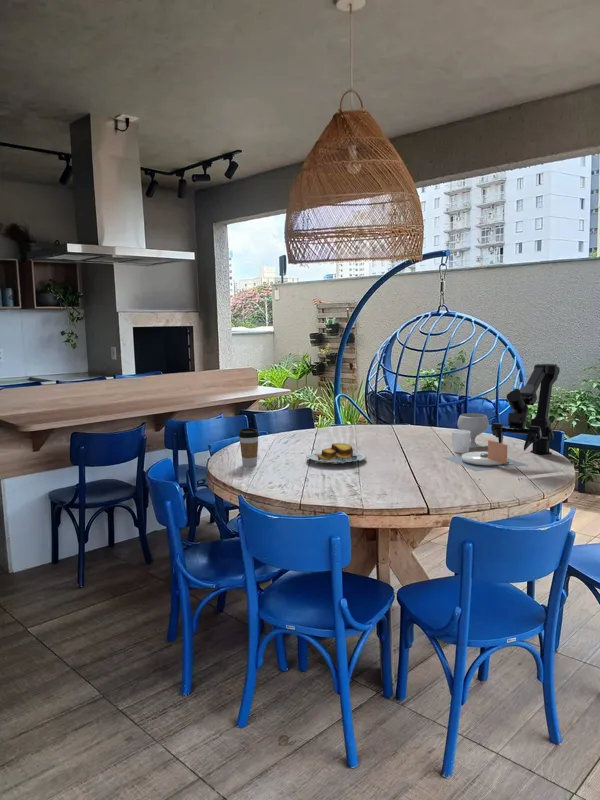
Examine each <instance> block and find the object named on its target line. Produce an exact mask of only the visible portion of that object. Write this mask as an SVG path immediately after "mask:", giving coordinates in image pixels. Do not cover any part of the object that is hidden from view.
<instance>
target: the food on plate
mask: <svg viewBox="0 0 600 800" xmlns="http://www.w3.org/2000/svg"><path fill="white" fill-rule="evenodd" d="M321 450H322V451H321V452H316V453H309V454H308V455H307V456H306V457H305V458H306V461H308V459H309V460H313V461H315V464H317V463H321V464H322V463H323V464H330V463H331V464H334V465H335V464H336V465H337V464H345V463H346V462H350V463H354V462H362V461H363V460H364V461H365V460H367V459H368V458H367V455H365V454H362V453H356V452H355V453H354V448H353V447H352V445H350V444H348V443H340V442H339V443H338V442H337V443H331V447H328V448H323V449H321Z"/></svg>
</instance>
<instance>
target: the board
mask: <svg viewBox="0 0 600 800" xmlns="http://www.w3.org/2000/svg"><path fill="white" fill-rule="evenodd" d="M443 459H446V460H448V461H449V462H452V463H455V464H458V465H460V466H463V467H464V468H466V469H469V470H472V471H475V472H480V471H489V470H498V469H499V470H500V469H506V468H507V469H508V468H517V467H523V466H524V467H525V466H527V467H528V464H526V463H522V462H519V461H517V460H514V459H510V458H508V457H507V463H506V464H500V465H477V464H471V463H467V462H464V461H462V455H455V456H447V457H445V456H444V457H443Z"/></svg>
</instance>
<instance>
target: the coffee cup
mask: <svg viewBox="0 0 600 800" xmlns="http://www.w3.org/2000/svg"><path fill="white" fill-rule="evenodd" d="M238 437H239V448H240V454H241V461H242V466H243V467H247V466H248V467H250V466H251V467H255V465H256V466H257V464H258V450H259V437H260V434H259V430H258V429H255V428H250V427H249V428H241V429H239V434H238ZM251 467H250V468H251Z"/></svg>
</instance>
